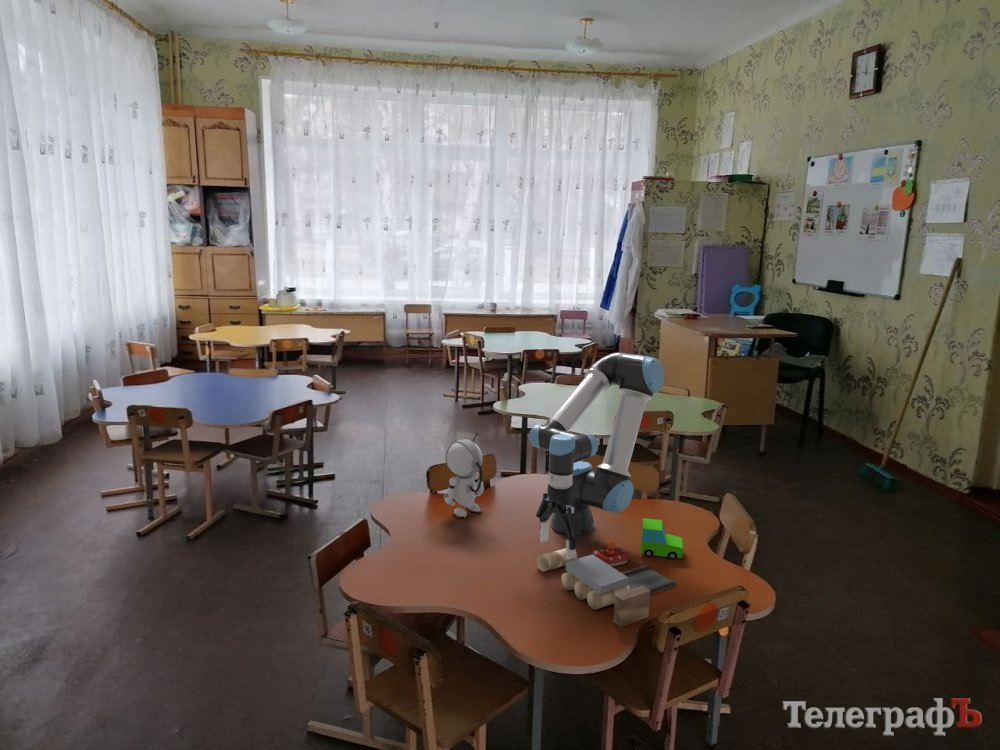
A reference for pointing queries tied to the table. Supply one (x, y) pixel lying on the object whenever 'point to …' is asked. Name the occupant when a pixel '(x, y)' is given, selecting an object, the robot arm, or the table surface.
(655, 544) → the toy car
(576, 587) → the track
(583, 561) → the slab
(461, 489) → the robot
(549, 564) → the roller
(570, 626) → the table surface
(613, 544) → the toy boat
